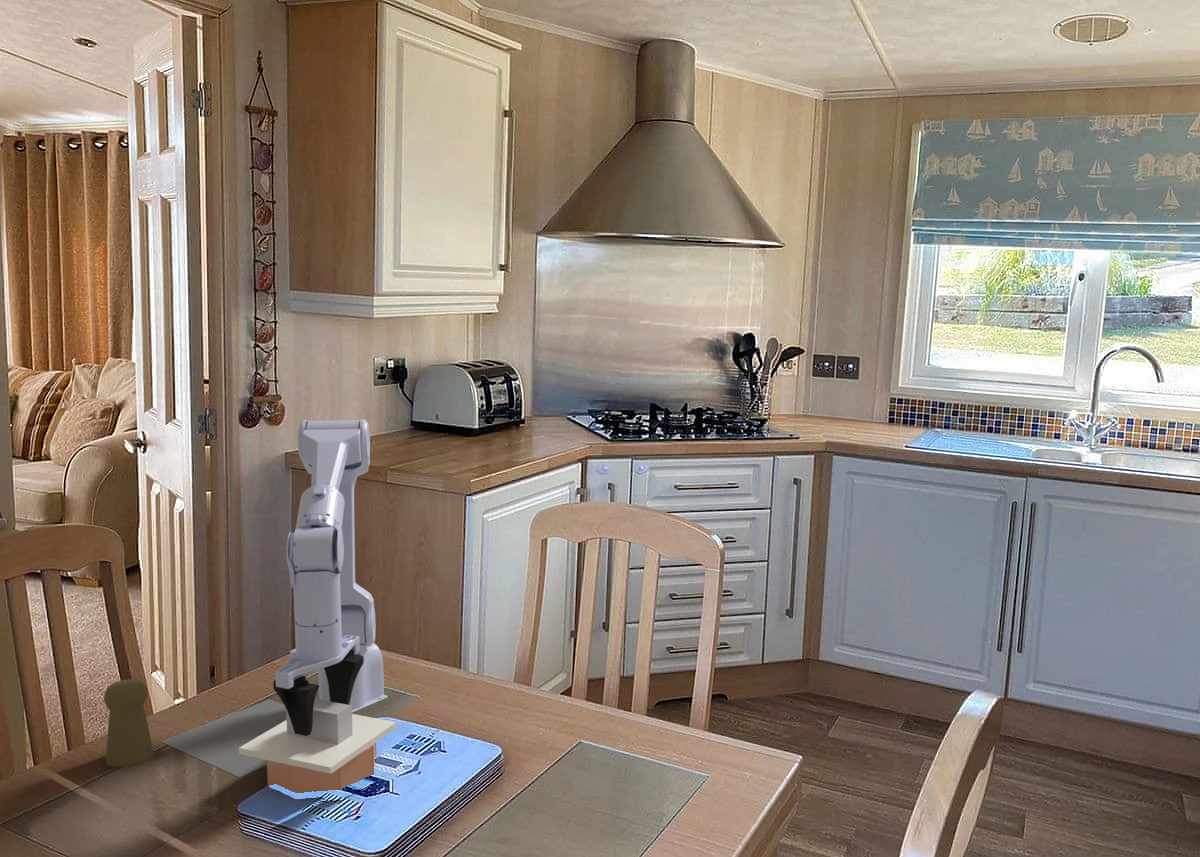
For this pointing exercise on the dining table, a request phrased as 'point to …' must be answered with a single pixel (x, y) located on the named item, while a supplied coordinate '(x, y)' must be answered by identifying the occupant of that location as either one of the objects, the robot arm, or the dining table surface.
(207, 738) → the mat
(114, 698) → the cork
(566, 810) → the dining table surface
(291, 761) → the lid
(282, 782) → the octagonal ring
